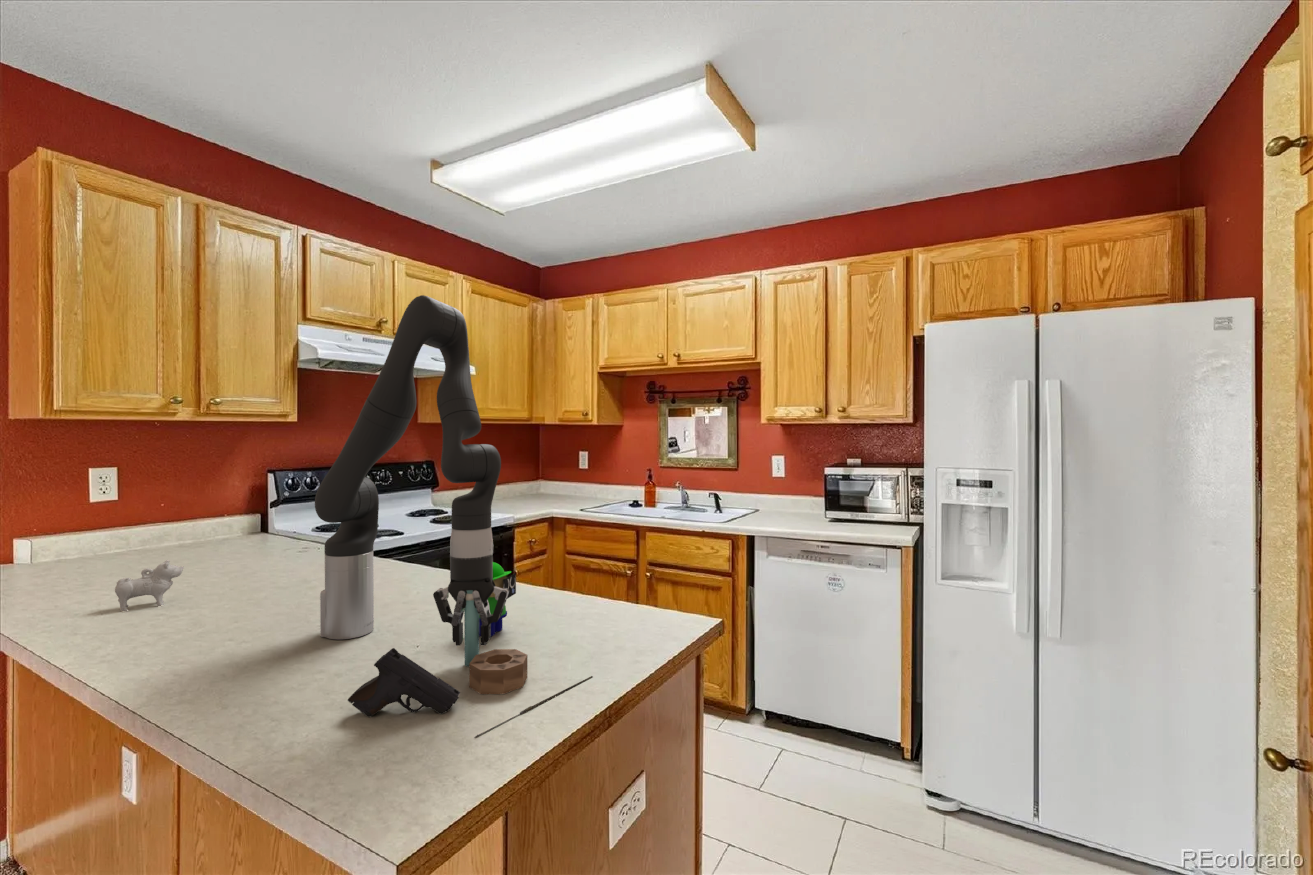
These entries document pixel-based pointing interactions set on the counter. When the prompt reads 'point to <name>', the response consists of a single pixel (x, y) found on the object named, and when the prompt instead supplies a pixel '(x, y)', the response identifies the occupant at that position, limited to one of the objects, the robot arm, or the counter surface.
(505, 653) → the bead
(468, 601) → the teal capped tube
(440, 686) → the handgun
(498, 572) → the toy
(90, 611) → the counter surface
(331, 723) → the counter surface
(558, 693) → the paintbrush
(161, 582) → the grey pig charm
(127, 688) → the counter surface
